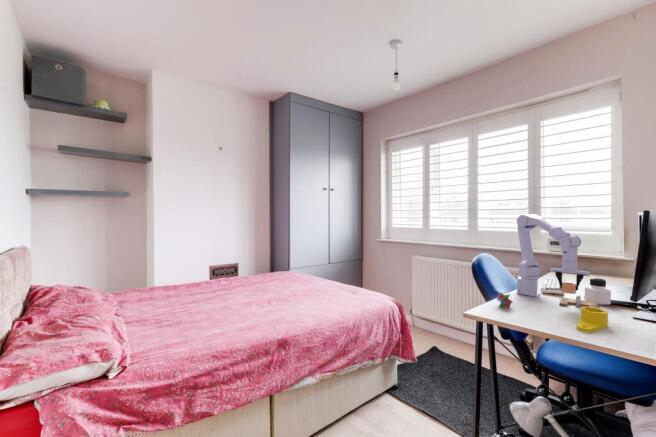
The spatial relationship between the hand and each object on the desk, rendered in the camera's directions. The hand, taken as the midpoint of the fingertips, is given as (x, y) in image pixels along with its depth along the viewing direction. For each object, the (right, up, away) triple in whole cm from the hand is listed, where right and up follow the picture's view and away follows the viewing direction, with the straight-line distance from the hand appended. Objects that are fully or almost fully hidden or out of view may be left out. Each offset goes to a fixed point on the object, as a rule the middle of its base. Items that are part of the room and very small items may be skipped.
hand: (568, 289), depth 144 cm
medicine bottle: (+20, -9, +7) cm, 23 cm away
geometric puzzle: (-30, -9, +2) cm, 31 cm away
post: (+5, -9, +1) cm, 10 cm away
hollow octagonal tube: (0, -2, 0) cm, 2 cm away
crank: (-9, -10, -22) cm, 26 cm away
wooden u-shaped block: (+7, -9, +3) cm, 12 cm away
